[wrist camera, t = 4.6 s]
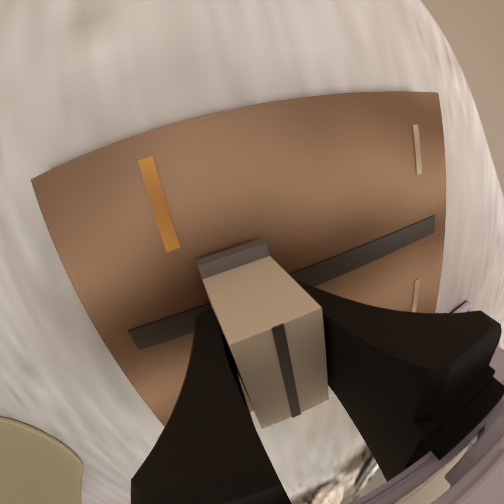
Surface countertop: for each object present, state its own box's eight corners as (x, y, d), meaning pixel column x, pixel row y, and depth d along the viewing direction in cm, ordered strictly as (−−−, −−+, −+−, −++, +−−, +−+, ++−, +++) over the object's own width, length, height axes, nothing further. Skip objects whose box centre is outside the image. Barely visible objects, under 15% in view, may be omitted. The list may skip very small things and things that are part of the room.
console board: (415, 301, 19) (435, 315, 17) (168, 410, 15) (173, 437, 13) (411, 93, 13) (439, 92, 11) (49, 172, 9) (29, 179, 7)
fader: (284, 342, 12) (329, 407, 9) (232, 362, 12) (265, 436, 8) (261, 237, 10) (321, 291, 7) (195, 260, 10) (223, 329, 6)
